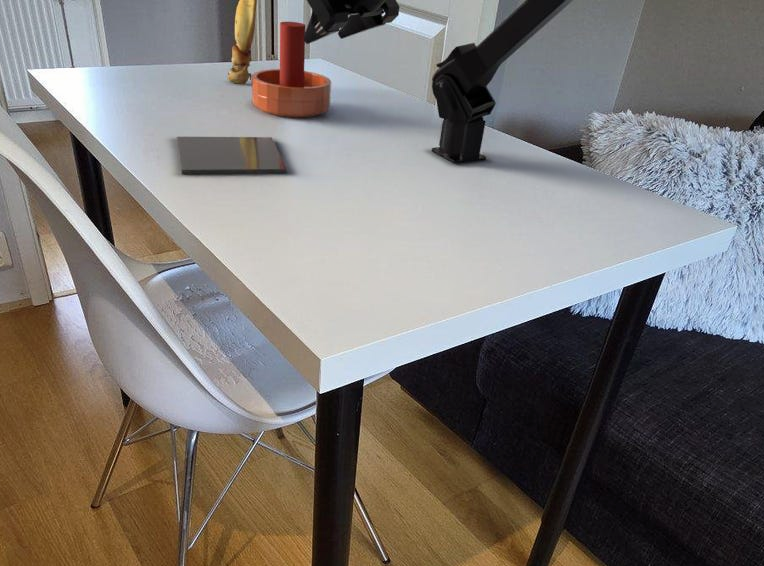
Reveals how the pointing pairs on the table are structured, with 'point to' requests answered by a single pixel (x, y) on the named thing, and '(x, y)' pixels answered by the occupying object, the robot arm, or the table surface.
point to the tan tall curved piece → (243, 41)
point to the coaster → (229, 155)
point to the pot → (291, 94)
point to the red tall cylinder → (292, 54)
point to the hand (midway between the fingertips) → (323, 38)
